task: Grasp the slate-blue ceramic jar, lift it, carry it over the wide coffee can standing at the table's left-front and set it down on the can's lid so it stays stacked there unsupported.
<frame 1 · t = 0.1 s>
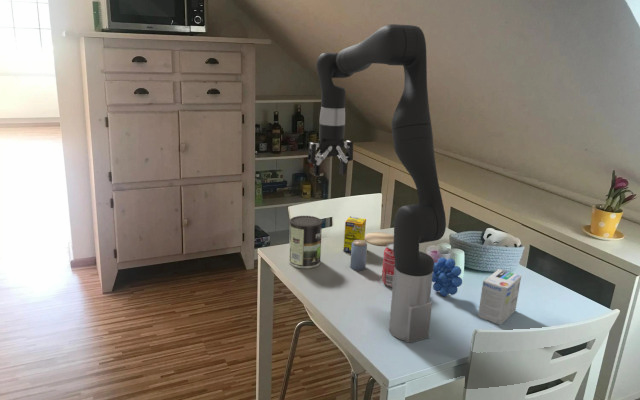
hand: (329, 175, 163), 29 cm above the table, fingers open, 8 cm apart
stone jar: (357, 267, 169), on the table
coffee can: (304, 262, 171), on the table
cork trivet: (380, 239, 193), on the table
soda can: (393, 284, 159), on the table
supplement box: (353, 250, 183), on the table
grapes: (445, 295, 153), on the table
light bulb box: (496, 314, 144), on the table
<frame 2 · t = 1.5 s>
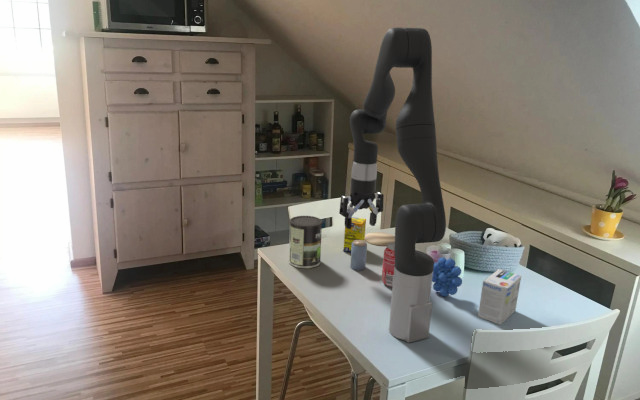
hand: (360, 226, 165), 14 cm above the table, fingers open, 8 cm apart
nothing on the table moved.
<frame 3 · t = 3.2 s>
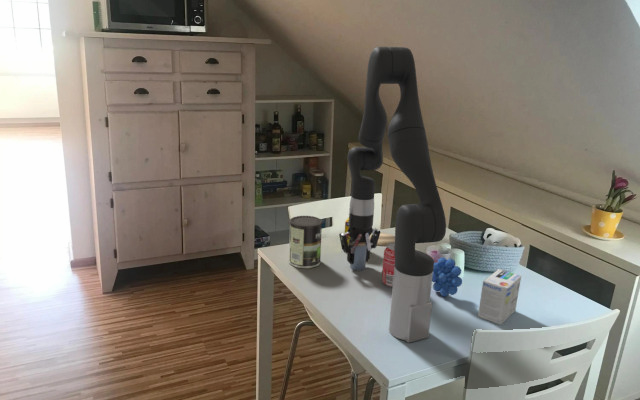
hand: (358, 261, 168), 2 cm above the table, fingers closed on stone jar, 4 cm apart
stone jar: (357, 267, 169), on the table, touching gripper
everything else where it was.
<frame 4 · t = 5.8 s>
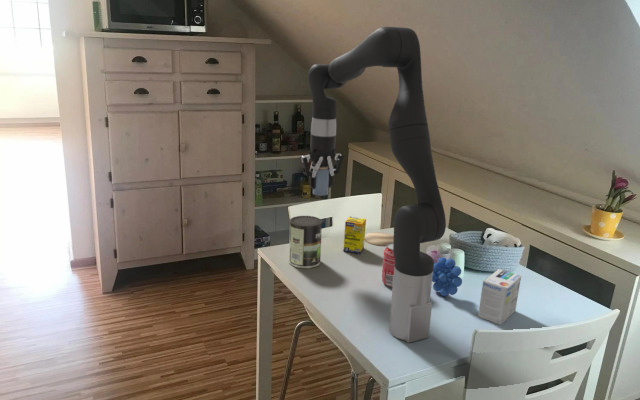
hand: (320, 187, 164), 25 cm above the table, fingers closed on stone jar, 4 cm apart
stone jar: (320, 193, 165), point 23 cm above the table, touching gripper
everything else where it was.
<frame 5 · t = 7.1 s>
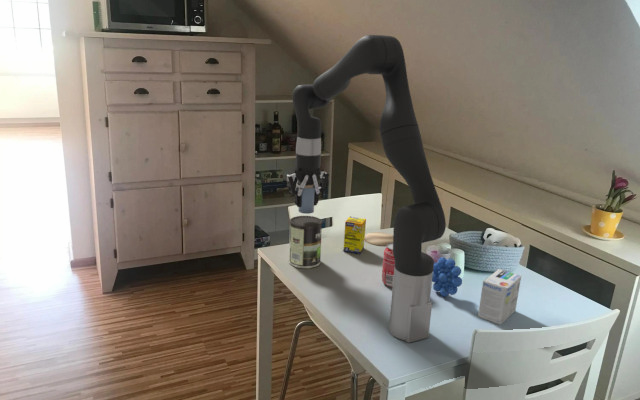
hand: (306, 205, 166), 19 cm above the table, fingers closed on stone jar, 4 cm apart
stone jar: (306, 211, 166), point 17 cm above the table, touching gripper
everything else where it was.
when the fingers open (17 cm above the table, at t = 8.4 s): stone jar stays where it is, resting on coffee can.
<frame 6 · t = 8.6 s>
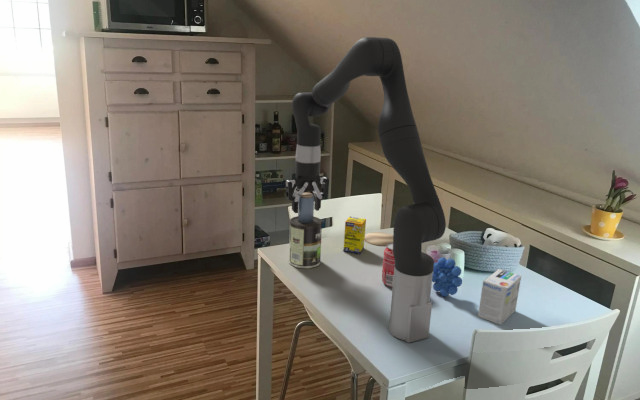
hand: (306, 211, 166), 17 cm above the table, fingers open, 6 cm apart
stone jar: (305, 220, 167), point 14 cm above the table, touching coffee can
coffee can: (304, 262, 171), on the table, touching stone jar
everything else where it was.
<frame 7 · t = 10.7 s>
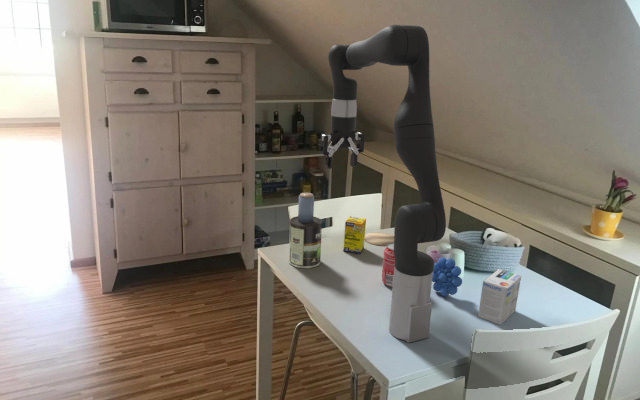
hand: (341, 167, 164), 31 cm above the table, fingers open, 8 cm apart
nothing on the table moved.
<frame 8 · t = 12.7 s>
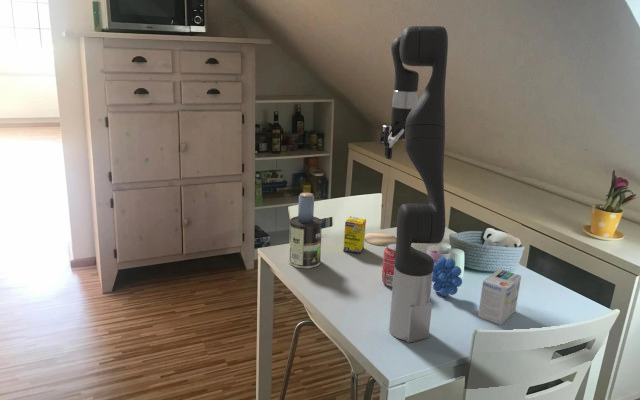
hand: (399, 158, 167), 34 cm above the table, fingers open, 8 cm apart
nothing on the table moved.
at the end: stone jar inside the target area on the coffee can (0.1 cm from its centre), point 14.3 cm above the coffee can's base; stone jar tilted 0°; the gripper is holding nothing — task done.
